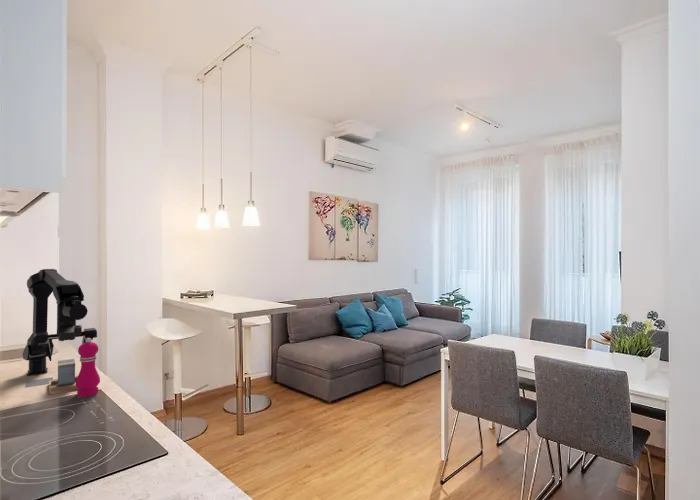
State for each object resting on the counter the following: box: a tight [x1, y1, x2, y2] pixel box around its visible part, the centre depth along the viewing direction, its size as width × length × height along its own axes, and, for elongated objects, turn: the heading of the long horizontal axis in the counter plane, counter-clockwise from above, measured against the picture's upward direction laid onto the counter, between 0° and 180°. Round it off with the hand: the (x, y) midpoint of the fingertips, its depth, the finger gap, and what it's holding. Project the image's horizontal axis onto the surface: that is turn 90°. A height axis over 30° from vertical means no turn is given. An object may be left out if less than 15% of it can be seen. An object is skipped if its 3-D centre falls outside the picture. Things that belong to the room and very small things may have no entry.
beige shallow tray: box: [48, 375, 79, 395], centre depth 145 cm, size 12×10×2 cm
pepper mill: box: [76, 338, 101, 398], centre depth 139 cm, size 7×7×20 cm
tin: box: [57, 358, 76, 387], centre depth 145 cm, size 7×5×9 cm
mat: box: [24, 377, 54, 388], centre depth 149 cm, size 8×8×1 cm
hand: (66, 358), depth 145 cm, fingers open, 9 cm apart
